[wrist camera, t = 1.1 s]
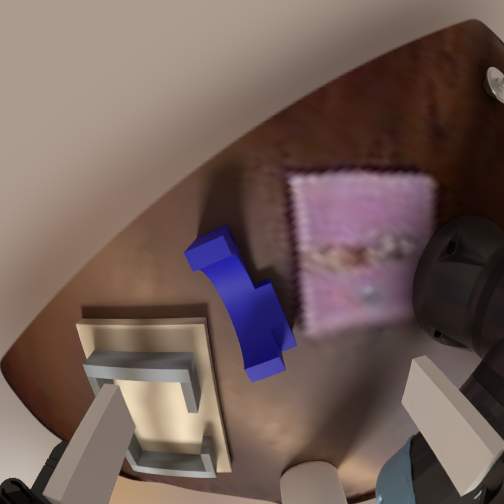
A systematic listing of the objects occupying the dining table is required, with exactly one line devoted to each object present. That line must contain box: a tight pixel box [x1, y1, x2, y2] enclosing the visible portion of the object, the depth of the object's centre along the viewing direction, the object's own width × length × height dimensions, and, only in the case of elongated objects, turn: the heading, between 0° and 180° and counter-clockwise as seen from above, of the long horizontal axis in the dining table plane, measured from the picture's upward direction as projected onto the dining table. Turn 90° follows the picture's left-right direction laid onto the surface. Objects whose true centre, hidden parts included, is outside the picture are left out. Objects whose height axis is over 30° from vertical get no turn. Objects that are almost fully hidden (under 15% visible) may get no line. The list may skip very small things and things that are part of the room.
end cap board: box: [76, 317, 232, 478], centre depth 28 cm, size 14×24×4 cm, turn 4°
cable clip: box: [184, 225, 297, 382], centre depth 24 cm, size 12×4×6 cm, turn 23°
